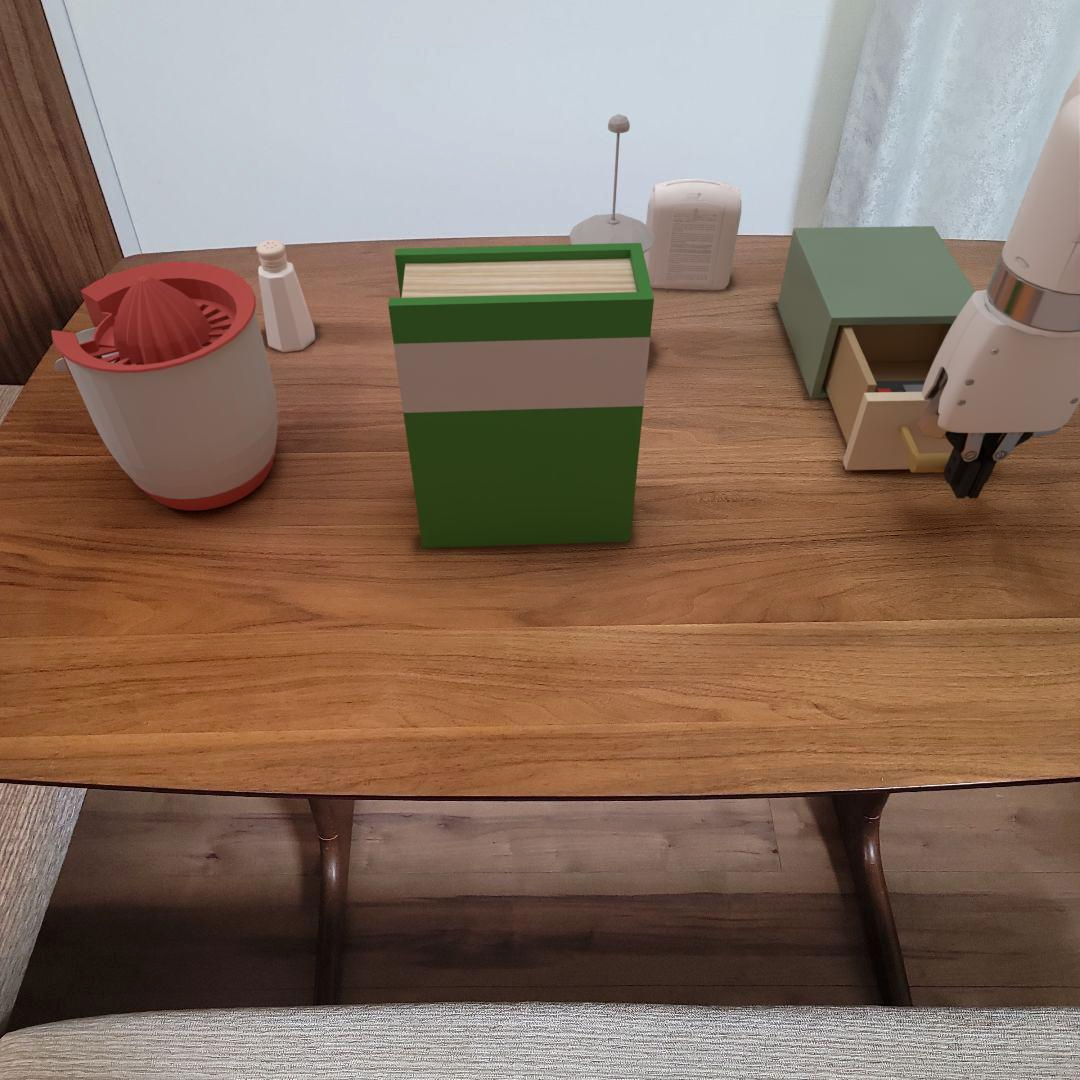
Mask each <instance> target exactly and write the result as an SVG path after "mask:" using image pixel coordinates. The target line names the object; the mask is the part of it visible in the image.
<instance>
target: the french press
mask: <svg viewBox="0 0 1080 1080" xmlns="http://www.w3.org/2000/svg"><path fill="white" fill-rule="evenodd" d="M630 125H631V124H630V120H629V118H628V117H627V116H626V115H623V114H620V113H617V114H615V115H613V116H612V117H610V118H609V120H608V124H607V129H608V131H610V132H611V133H614V134H616V143H615V159H614V161H615V163H614V179H613V195H612V196H613V197H612V211H611V213H607V214H595V215H593V216H590V217H588V218H586V219H584V220H582V221H581V222H579V223H577V224H576V225H574V226H573V227H572V229H571V230H570V233H569V234H568V236H569V240H570V245H572V244H615V243H641V244H642V249H643V253H645V252H646V251H647V250H649V249H650V248H651V247H652V245H653V243H654V240H655V236H654V234H653V231H652V229H650V228H649V227H648V226H646V223H644V222H642V221H641V220H639V219H636V218H633V217H630V216H627V215H625V214H622V213H616V206H617V205H616V203H617V187H618V170H619V151H620V137H621V134H625V133H628V132H629V131H630Z"/></svg>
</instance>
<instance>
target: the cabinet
mask: <svg viewBox="0 0 1080 1080" xmlns="http://www.w3.org/2000/svg"><path fill="white" fill-rule="evenodd" d="M936 229H937V228H936V227H935V226H933V225H921V226H919V225H918V226H916V225H914V226H913V225H912V226H849V227H848V226H846V227H844V226H842V227H841V226H840V227H835V226H834V227H794V228H793V229H792V234H791V239H790V243H789V247H788V252H787V258H786V261H785V267H784V272H783V277H782V282H781V287H780V291H779V295H778V301H777V305H776V306H777V309H778V311H779V315H780V317H781V320H782V323H783V325H784V328H785V331H786V334H787V337H788V339H789V342H790V345H791V348H792V351H793V353H794V356H795V359H796V361H797V364H798V368H799V370H800V373H801V376H802V378H803V382H804V384H805V386H806V387H805V388H806V389H807V390H806V391H807V393H808V396H809V399H830V398H829V396H828V393H827V391H826V388H825V385H824V383H823V382H824V378H825V375H826V371H827V367H828V364H829V360H830V356H831V352H832V349H833V345H834V341H835V338H836V334H837V330H838V327H839V325H894V324H953V323H954V321H955V319H956V318H957V316H958V315H959V313H960V312H961V310H962V308H963V307H964V306H965V304H966V303H967V301H968V300H969V299H970V297H971V296H972V295H973V293H974V292H975V291H976V290H975V289H974V287H973V286H972V284H971V282H970V281H969V279H968V278H967V276H966V275H965V273H964V271H963V270H962V268H961V267H960V265H959V264H958V262H957V260H956V259H955V257H954V256H953V254H952V253H951V251H950V250H949V248H948V246H947V245H946V243H945V242H944V240H943V239H942V237H941V235H940V233H938V231H937V230H936Z"/></svg>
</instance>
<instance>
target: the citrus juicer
mask: <svg viewBox="0 0 1080 1080" xmlns="http://www.w3.org/2000/svg"><path fill="white" fill-rule="evenodd" d="M80 293H81V295H82V299H83V301H84V304H85V307H86V309H87V313H88V315H89V319H90V321H91V323H92V325H93V327H91V328H87V329H84V330H81V331H79V332H76V333H75V332H68V331H63V330H62V331H61V330H54V329H51V338H52V344H53V345H54V347H55V348H56V350H57V351H58V353H59V354H60V355H61V357H62V358H59V359H57V360H56V361H55V362H54V364H53V368H54V372H55V373H57V372H59V373H61V372H67V371H68V372H69V374H70V378H71V379H72V382H73V383H74V385H75V386H76V387H77V390H78V391H79V393H80V397H81V398H82V400H83V402H84V405H85V407H86V409H87V412H88V413H89V417H90V418H91V420H92V423H93V425H94V427H95V428H96V430H97V432H98V434H99V436H100V438H101V439H102V441H103V444H104V445H105V447H106V448H107V450H108V451H109V453H110V454H111V456H112V457H113V458H114V460H115V461H116V462H117V463H118V466H120V468H121V470H123V471H124V472H125V474H127V475H128V476H129V478H130V479H131V480H132V482H133V483H134V484H135V485H136V486H137V487H138V488H139V489H140V490H142V491H143V492H144V493H145V494H146V495H148V496H149V497H150V498H152V499H153V500H154V501H155V502H157V503H159V504H161V505H163V506H166V508H167V507H169V508H171V509H174V510H180V511H189V512H190V511H205V510H210V509H211V510H213V509H216V508H220V507H224V506H227V505H230V504H232V503H235V502H237V501H239V500H241V499H243V498H245V497H247V496H248V495H249V494H251V493H253V491H255V490H256V489H258V488H259V487H260V486H261V485H262V484H263V482H264V481H265V480H266V478H267V477H268V476H269V474H270V472H271V470H272V467H273V463H274V459H275V456H276V450H277V447H278V427H279V421H278V420H279V419H278V402H277V400H278V399H277V395H276V389H275V383H274V378H273V374H272V370H271V365H270V362H269V358H268V354H267V350H266V346H265V343H264V339H263V336H262V335H263V334H262V332H261V328H260V325H259V324H260V323H259V319H258V316H257V313H256V312H257V311H256V308H257V302H256V300H257V299H256V294H255V293H254V290H253V288H252V287H251V285H250V284H249V283H248V282H247V281H246V280H245V278H243V277H242V276H240V275H239V274H237V273H235V271H232V270H229V269H226V268H224V267H221V266H218V265H214V264H209V263H204V262H196V261H195V262H194V261H165V262H157V263H150V264H145V265H141V266H140V265H139V266H135V267H131V268H127V269H124V270H121V271H118V272H114V273H112V274H110V275H108V276H106V277H102V278H100V279H98V280H96V281H94V282H93V283H90V284H89V285H88V286H86V287H85V288H83V289H81V290H80Z"/></svg>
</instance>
